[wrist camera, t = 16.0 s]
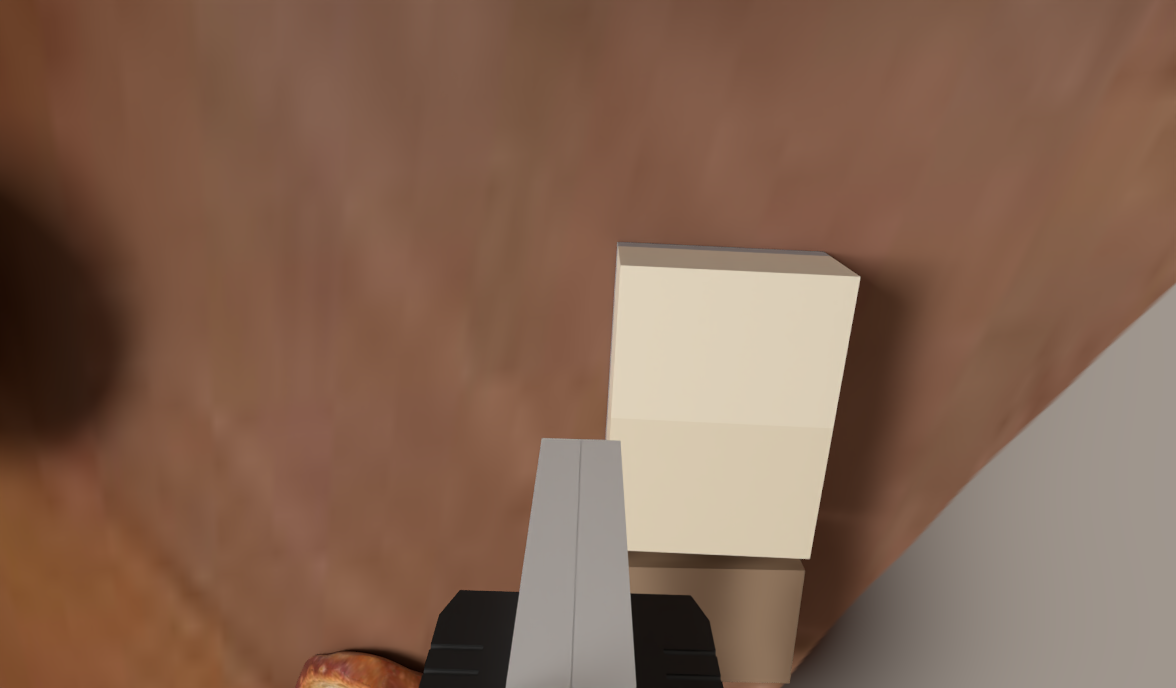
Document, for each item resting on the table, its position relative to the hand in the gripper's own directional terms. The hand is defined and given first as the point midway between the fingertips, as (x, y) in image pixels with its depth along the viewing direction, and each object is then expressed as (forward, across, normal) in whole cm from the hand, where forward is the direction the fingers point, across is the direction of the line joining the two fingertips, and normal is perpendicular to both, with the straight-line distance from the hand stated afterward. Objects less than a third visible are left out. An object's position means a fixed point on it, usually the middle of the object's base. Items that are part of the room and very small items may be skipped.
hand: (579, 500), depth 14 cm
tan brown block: (+20, -6, +18) cm, 28 cm away
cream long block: (+21, -6, +12) cm, 25 cm away
